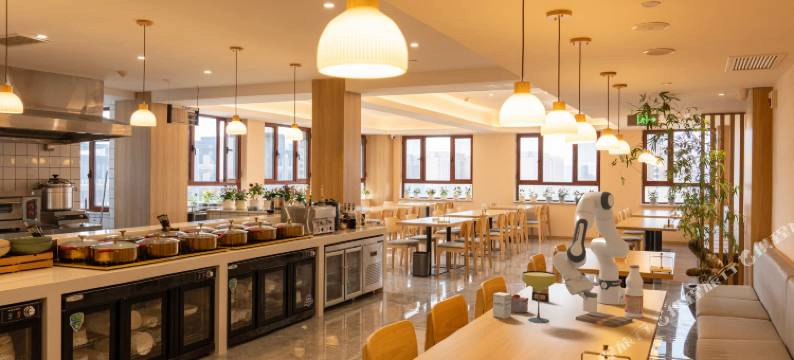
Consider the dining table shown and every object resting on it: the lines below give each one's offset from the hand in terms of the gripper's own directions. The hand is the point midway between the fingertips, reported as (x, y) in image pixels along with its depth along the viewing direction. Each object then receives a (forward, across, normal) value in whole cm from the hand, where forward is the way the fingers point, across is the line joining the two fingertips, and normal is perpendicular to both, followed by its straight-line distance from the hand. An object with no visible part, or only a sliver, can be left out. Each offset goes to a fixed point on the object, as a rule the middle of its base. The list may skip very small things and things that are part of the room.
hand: (588, 298), depth 338 cm
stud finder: (+6, 0, +4) cm, 7 cm away
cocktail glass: (-2, -27, +17) cm, 32 cm away
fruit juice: (+18, +22, -3) cm, 29 cm away
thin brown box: (-22, +17, +37) cm, 47 cm away
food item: (-17, -19, +32) cm, 41 cm away
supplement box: (-15, -35, +30) cm, 49 cm away
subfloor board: (+14, 0, +1) cm, 14 cm away
